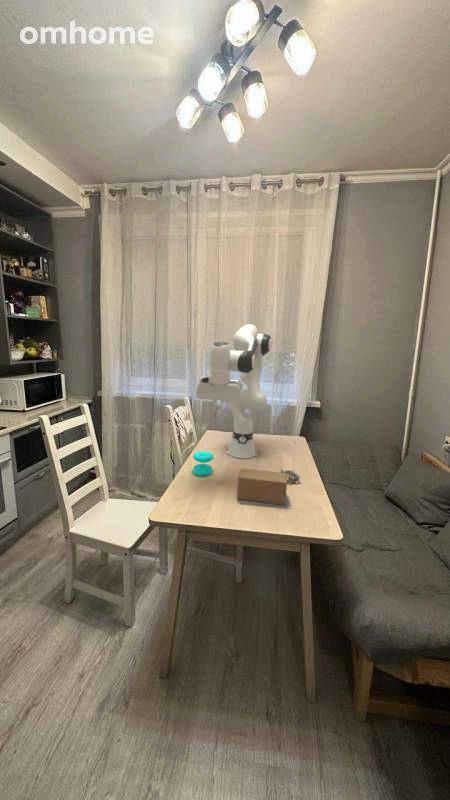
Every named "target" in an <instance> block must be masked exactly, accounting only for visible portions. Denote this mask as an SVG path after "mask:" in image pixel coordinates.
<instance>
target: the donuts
mask: <svg viewBox="0 0 450 800" xmlns="http://www.w3.org/2000/svg"><path fill="white" fill-rule="evenodd" d="M192 459H194V461H196V462H198V464H196V465H193V468H192V472H193V473H194V475H196V476H201V477H203V476H209V475H211V474H212V473H213V471H214V470H213V469H214V468H213V467H212V466H211V465H210V464H208V463H210V462H212V461H213V459H214V455H213V453H212V452H210V451H205V450H200V451H196V452H194V453H193V457H192Z"/></svg>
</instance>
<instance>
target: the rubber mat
mask: <svg viewBox="0 0 450 800" xmlns="http://www.w3.org/2000/svg"><path fill="white" fill-rule="evenodd" d="M240 504H241V505H247V506H248V505H249V506H261V507H271V508H281V507H290V508H291V506H290V502H289V499H288V494H287V493H286V499H285V505H281V504H273V503H265V502H258V501H250V500H242V499H240Z"/></svg>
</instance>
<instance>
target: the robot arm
mask: <svg viewBox="0 0 450 800" xmlns="http://www.w3.org/2000/svg"><path fill="white" fill-rule="evenodd" d="M232 343H233V347H234V350H233V349H231V345H230V343H229V342H225V341H218V342H214V343H212V347H211V351H210V361H209V362H210V369H209V374H208V375H204V376H200V377H199V380H198V381H199V383H198V384H197V387H196V390H195V391H196V393H195V397H196V400H197V399H198V400H212V404H213V406H214V410H216V411H222V406H223V405H224V403H225V405H226V406H227V407H228V408H229V409H230V411H231V413H232V417H233V430H232V438H231V439H230V440H229V445H228V446H229V447H228V449H227V450H226V451H225V454H226V455H228V456H231V457H233V458H235V459H236V458H237V459H251V458H254V457H257V456H258V453H257V451H256V449H255V447H256V446H255V445H256V441H254V439H253V438H254V432H253V431H254V430H253V428H254V419H253V417H252V416H250V414H248V413H247V411H246V410H250V411H262V410H265V408H266V406H267V405H268V397H267V395H266V394H265V392H264V391H263V390H262V388H261V385H260V376H261V371H262V367H263V366H262V365H263V357H264V356H266V355H267V354H268V353H269V352H270V351H271V349H272V346H273V339H272V337H271V336H270V335H269V334H266V333H263V334H262V333H259V329H258V328H257V327H256V325H254V324H251V323H247V324H245V325H243V326H241V327H240V328H239V329H237V331H236V332H235V333H234V335H233V338H232ZM231 372H238V373H240V375H239V376H240V377H239V379H240V380H238V379H236V380H234V379H230V374H231ZM243 384H244V385H246V386H247V388H246V389H243V388H244V387H243ZM217 401H220V403H221V404H220V405H218V404H217Z"/></svg>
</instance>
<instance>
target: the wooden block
mask: <svg viewBox="0 0 450 800" xmlns="http://www.w3.org/2000/svg"><path fill="white" fill-rule="evenodd" d="M286 476H287V475H286V473H280V472H278V471H270V470H269V471H268V470H260V469H251V468H240V470H239V473H238V478H237V492H236V493H237V494H236V498H237V500H241V499H242V500H250V501H258V502H265V503H273V504H281V505H285V499H286V494H287V486H288V483H287V480H288V479H287V477H288V476H287V477H286Z"/></svg>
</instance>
